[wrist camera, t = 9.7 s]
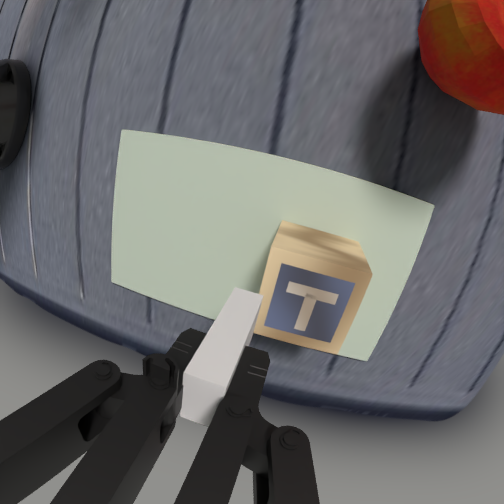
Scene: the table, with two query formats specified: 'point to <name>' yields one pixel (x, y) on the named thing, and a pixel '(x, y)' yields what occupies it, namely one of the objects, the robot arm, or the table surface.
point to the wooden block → (311, 287)
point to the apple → (465, 50)
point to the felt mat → (249, 225)
